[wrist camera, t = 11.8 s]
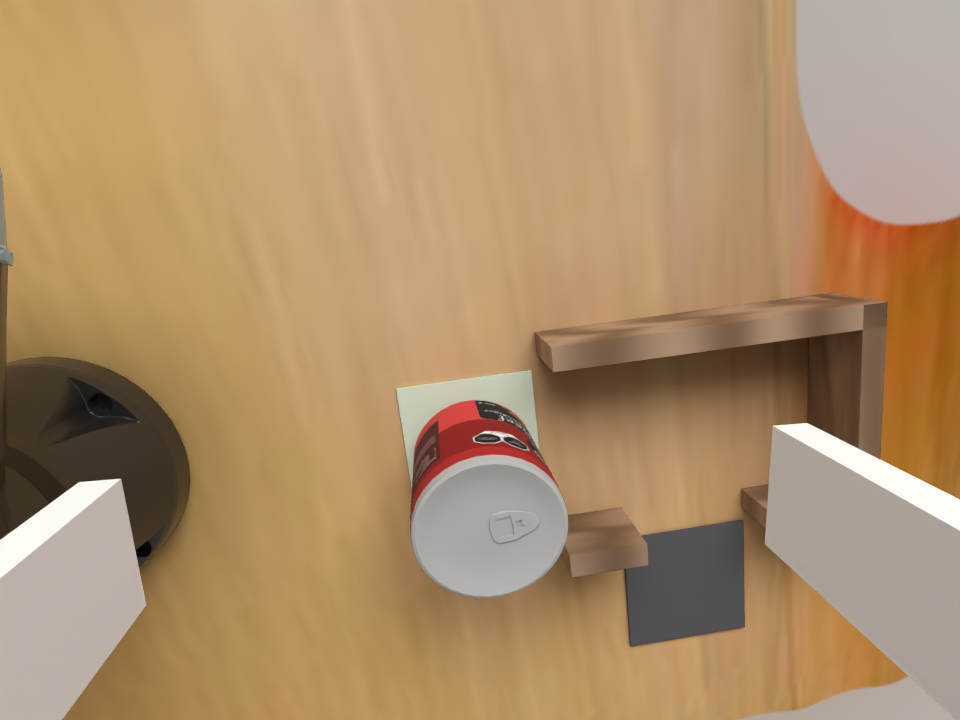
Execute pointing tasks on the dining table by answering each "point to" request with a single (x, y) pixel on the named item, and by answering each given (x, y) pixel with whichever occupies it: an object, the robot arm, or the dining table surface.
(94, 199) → the dining table surface
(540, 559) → the canned food
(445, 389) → the pad
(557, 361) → the wooden walled channel
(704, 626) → the mat
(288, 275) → the dining table surface
